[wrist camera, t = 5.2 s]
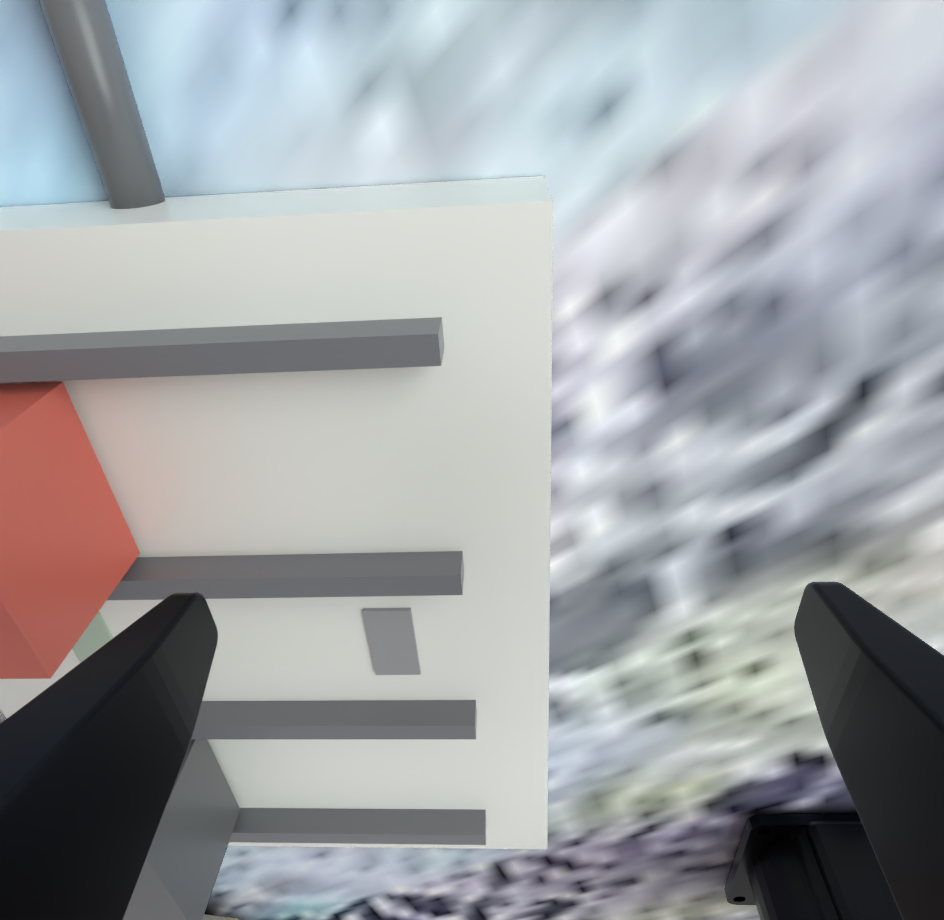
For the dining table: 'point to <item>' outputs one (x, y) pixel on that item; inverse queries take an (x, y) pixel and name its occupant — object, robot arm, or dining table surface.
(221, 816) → the grey cube
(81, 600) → the red switch
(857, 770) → the robot arm
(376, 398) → the white flat slab
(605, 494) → the dining table surface
